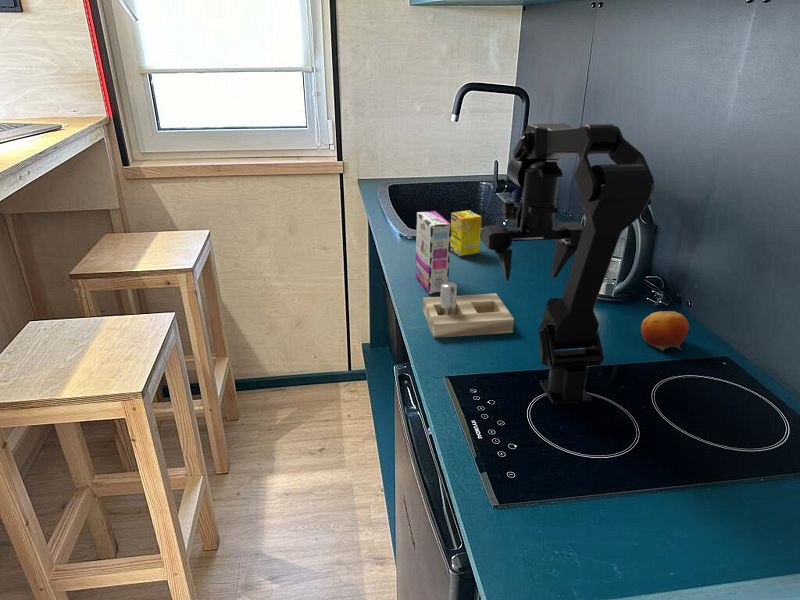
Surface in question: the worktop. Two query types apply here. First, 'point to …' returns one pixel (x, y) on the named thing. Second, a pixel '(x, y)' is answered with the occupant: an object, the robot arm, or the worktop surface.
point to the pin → (448, 298)
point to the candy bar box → (432, 250)
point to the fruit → (665, 329)
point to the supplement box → (465, 233)
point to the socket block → (469, 316)
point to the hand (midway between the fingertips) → (530, 278)
